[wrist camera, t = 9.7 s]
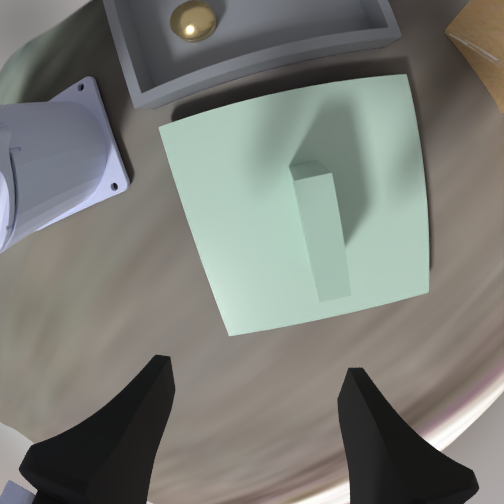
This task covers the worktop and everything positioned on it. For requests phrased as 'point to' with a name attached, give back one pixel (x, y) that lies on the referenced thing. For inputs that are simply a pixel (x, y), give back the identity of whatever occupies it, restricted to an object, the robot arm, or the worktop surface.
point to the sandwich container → (482, 42)
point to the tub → (237, 41)
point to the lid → (306, 201)
